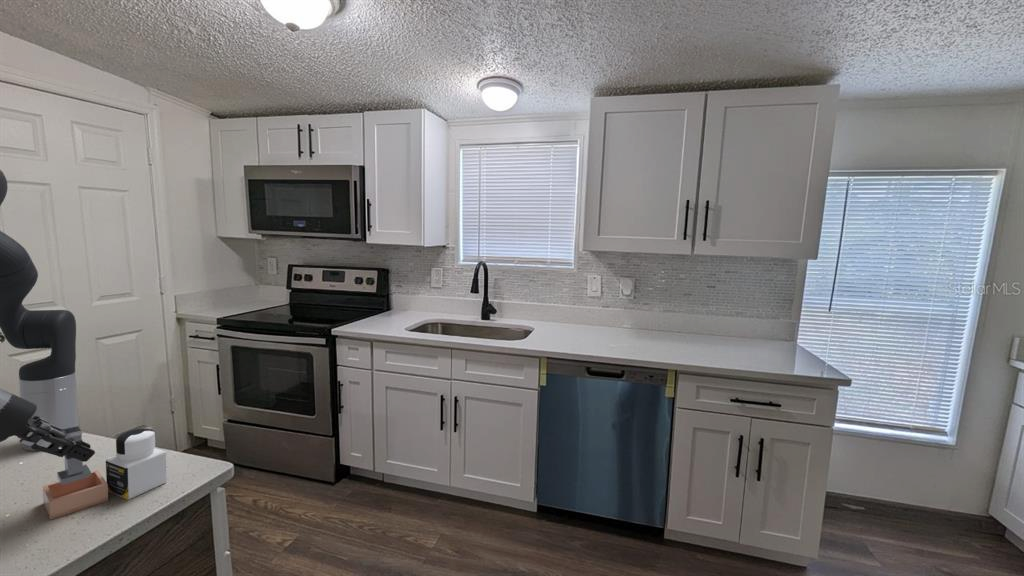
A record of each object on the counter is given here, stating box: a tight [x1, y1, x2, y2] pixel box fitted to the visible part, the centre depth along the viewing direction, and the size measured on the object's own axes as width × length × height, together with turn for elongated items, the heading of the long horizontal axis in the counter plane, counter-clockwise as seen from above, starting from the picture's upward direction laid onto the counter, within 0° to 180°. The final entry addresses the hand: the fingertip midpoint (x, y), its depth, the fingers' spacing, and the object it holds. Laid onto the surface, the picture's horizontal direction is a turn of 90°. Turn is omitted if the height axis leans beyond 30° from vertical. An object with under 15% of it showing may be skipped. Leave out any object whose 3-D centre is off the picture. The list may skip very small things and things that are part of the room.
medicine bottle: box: [105, 428, 168, 501], centre depth 88 cm, size 7×7×12 cm
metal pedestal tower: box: [56, 425, 92, 485], centre depth 81 cm, size 4×4×10 cm
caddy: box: [42, 469, 109, 521], centre depth 82 cm, size 8×8×4 cm
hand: (88, 453), depth 83 cm, fingers closed on metal pedestal tower, 3 cm apart
